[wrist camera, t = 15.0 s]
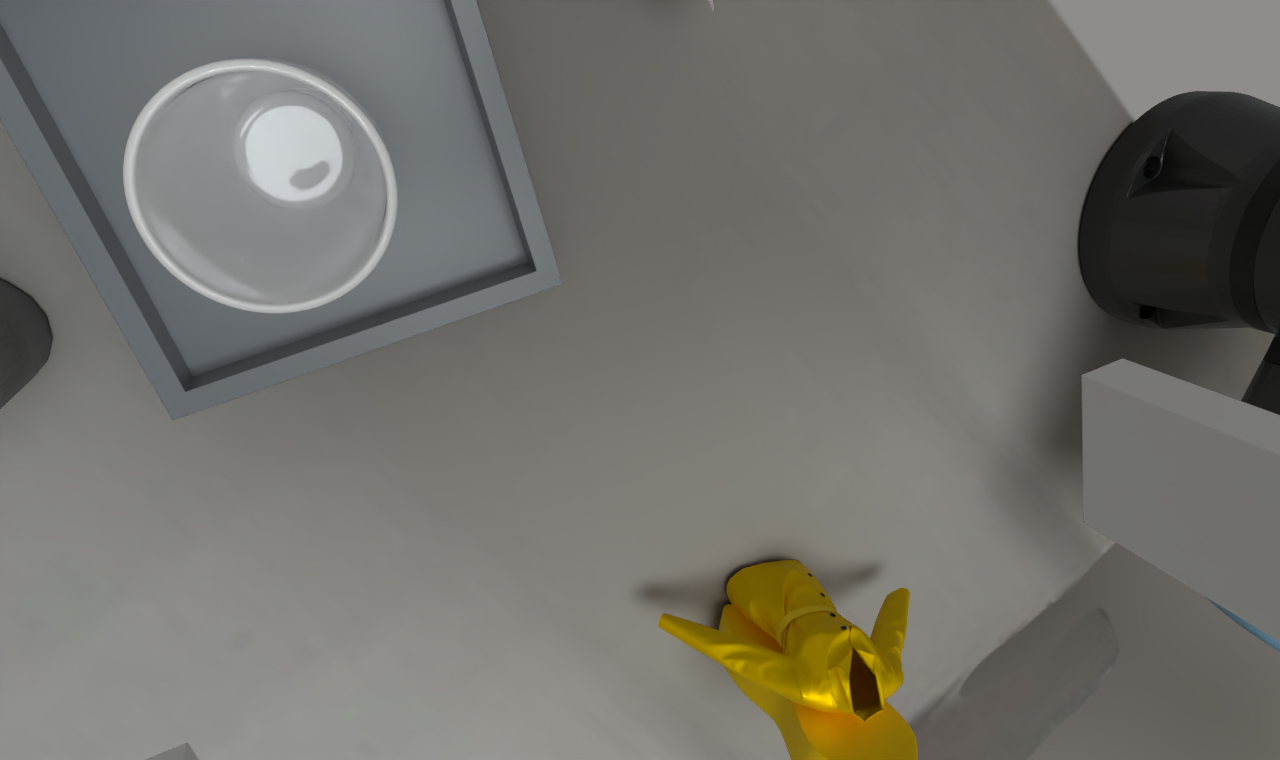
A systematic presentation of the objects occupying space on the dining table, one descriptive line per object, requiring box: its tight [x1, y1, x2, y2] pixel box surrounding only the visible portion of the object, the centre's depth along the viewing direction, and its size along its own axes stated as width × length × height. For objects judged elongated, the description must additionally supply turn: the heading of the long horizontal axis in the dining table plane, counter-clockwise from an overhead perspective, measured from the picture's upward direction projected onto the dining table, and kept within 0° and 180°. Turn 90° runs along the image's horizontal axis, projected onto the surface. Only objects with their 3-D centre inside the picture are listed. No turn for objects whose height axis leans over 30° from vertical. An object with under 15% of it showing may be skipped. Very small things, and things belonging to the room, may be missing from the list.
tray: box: [0, 0, 563, 420], centre depth 34 cm, size 18×18×3 cm
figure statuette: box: [658, 560, 917, 760], centre depth 43 cm, size 18×8×22 cm, turn 83°
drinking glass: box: [123, 57, 398, 313], centre depth 28 cm, size 7×7×15 cm
